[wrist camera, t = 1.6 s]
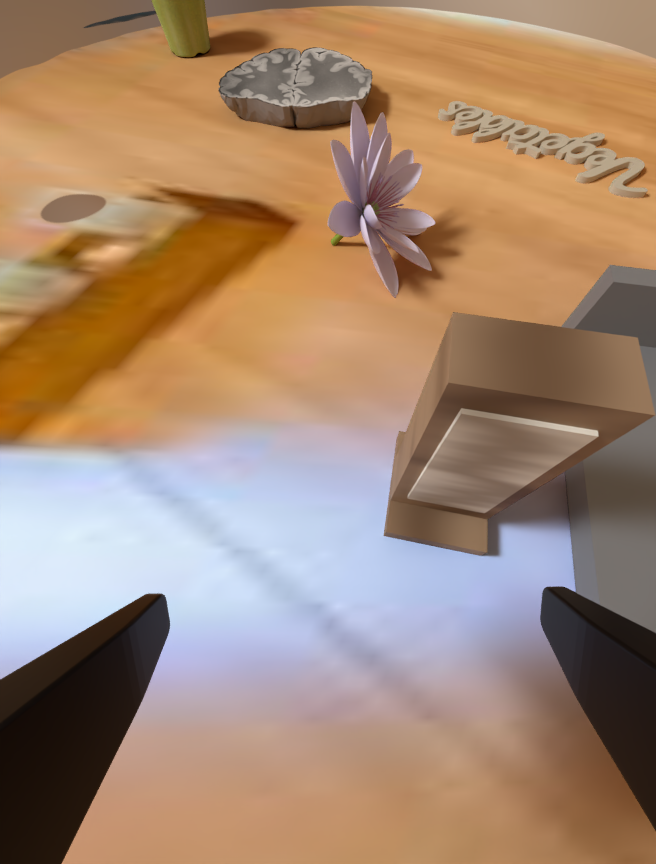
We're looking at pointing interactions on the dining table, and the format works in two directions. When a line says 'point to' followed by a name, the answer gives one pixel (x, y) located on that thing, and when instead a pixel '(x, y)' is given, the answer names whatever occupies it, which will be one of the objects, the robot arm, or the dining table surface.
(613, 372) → the brown upright panelled block
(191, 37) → the plant pot
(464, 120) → the decorative sign
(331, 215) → the water lily
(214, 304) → the dining table surface
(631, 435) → the grey l-shaped bracket
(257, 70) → the brain slice
